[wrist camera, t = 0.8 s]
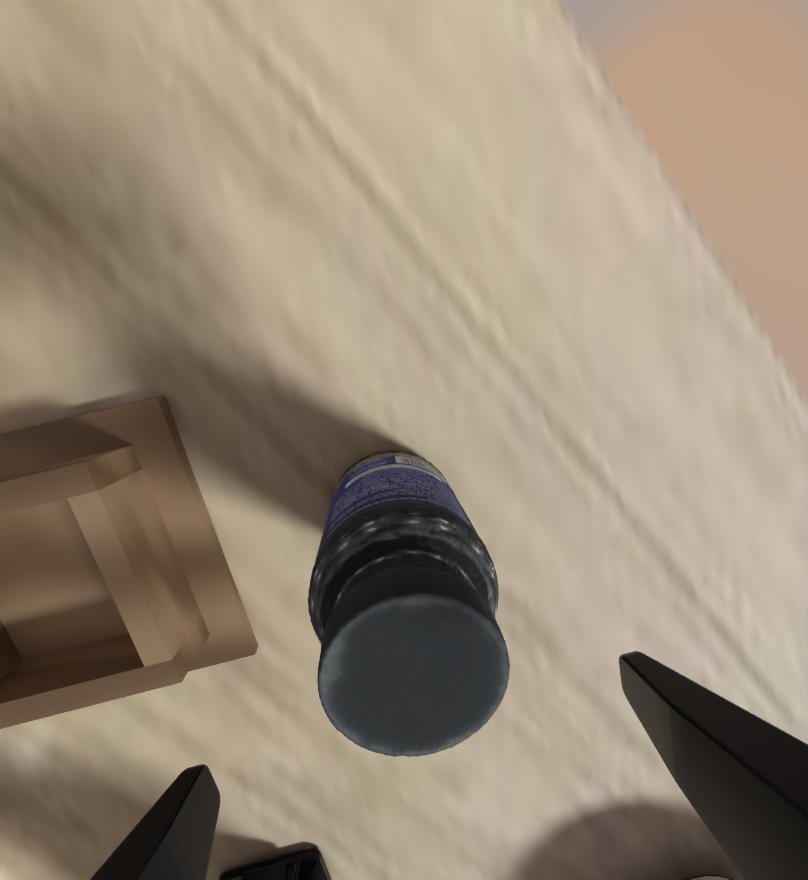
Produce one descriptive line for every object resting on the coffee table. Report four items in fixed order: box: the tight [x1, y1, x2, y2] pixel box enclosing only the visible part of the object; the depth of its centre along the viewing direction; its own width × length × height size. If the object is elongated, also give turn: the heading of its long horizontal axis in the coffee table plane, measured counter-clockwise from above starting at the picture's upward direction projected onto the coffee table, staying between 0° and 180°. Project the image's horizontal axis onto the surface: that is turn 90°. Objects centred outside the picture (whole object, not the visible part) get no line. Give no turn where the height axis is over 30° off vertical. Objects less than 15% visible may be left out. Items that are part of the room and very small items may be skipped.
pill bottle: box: [308, 450, 510, 757], centre depth 15 cm, size 6×6×11 cm
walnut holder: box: [0, 396, 258, 729], centre depth 18 cm, size 14×14×4 cm
